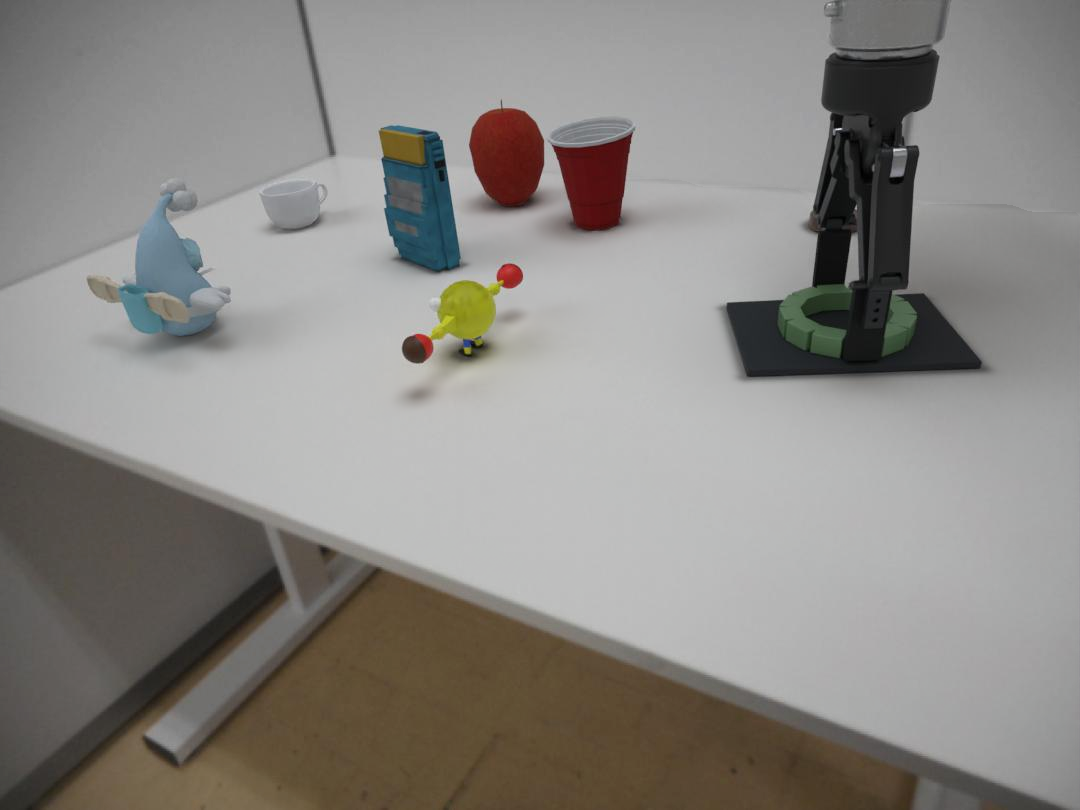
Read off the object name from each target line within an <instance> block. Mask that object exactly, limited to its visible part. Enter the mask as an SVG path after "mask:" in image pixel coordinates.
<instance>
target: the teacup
mask: <svg viewBox="0 0 1080 810" xmlns="http://www.w3.org/2000/svg"><path fill="white" fill-rule="evenodd" d="M319 187H321V188H322V190H323V195H322V197H321V198H320V195H319ZM258 193H259V197H260V199H261V203H262V205H263V208H264V210H265V213H266V215H267V217H268V218H269V220H270V221H271V222H272V223H273V224H274V225H275V226H277V227H279V228H281V229H283V230H299V229H303V228H306V227H309V226H311V225H312V224H314V223H315V221H316V220H317V219H318V217H319V215H320V211H321V205H322V204H323V202H324V201H325V200H326V198H327V197H328V188H327V187H326V185H325V183H323V182H322V183H321V182H317V181H316V180H315V179H313V178H292V179H286V180H280V181H277V182H274V183H271V184H268V185H265V186H264V187H262V188H260V189H259V192H258Z"/></svg>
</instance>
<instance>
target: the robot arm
mask: <svg viewBox="0 0 1080 810" xmlns="http://www.w3.org/2000/svg"><path fill="white" fill-rule="evenodd" d="M951 3H952V0H832V1H827V2H826V3H825V4H824V6H823V15H824V16H825V17H826V18H830V21H829V31H828V32H829V33H828V41H827V42H828V45H829V46H830V47H832V48H833V49H834V50H835V51H834V52H832V53H831V54H829V56H828V58H826V59H825V61H824V70H823V80H822V89H821V96H820V97H821V98H820V102H821V106H822V108H824V109H825V111H828V112H829V113H830V115H829V127H828V128H829V129H828V137H827V142H826V146H825V151H824V156H823V161H822V165H821V170H820V174H819V179H818V184H817V187H816V188H817V189H816V193H815V198H814V203H813V205H812V211H814V214H815V215H817V214H819V216H818V218H817V224H818V228H822V231H818V232H817V238H816V247H815V254H814V255H815V256H814V263H813V274H812V282H811V287H812V286H813V287H815V288H817V285H834V284H845V283H846V278H847V277H846V276H847V271H848V270H847V269H848V262H849V257H850V248H851V242H852V235H853V232H852V231H851V230H850V229H843V230H842V227H848V226H856V225H857V258H858V259H857V260H858V261H857V262H858V280H852V281H850V282H848V286H849V287H850V290H852V297H851V303H850V310H849V317H848V324H847V330H846V337H845V344H844V351H843V359H844V360H845V361H870V360H880V358H881V352H882V347H883V341H884V335H885V330H886V324H887V319H888V313H889V308H890V302H891V296H892V294H893V291H904V290H907V288H908V287H909V283H910V282H909V278H910V277H909V276H910V261H911V260H910V259H911V244H912V243H911V241H912V225H913V206H914V192H915V191H914V190H915V179H916V174H917V168H918V162H919V157H920V148H919V146H918V145H917V144H915V145H914V144H912V145H905V142H906V141H905V137H904V136H903V121H904V119H905V117H907V116H908V115H909V114H911V113H918V112H921V111H922V110H924V109H926V108H927V107H928V106H929V105H930V104H931V102H932V100H933V95H934V90H935V89H934V88H935V85H936V84H935V83H936V79H937V73H938V68H939V62H940V54H938V52H937V50H936V49H933V48H934V46H935V45H938V44H939V43H940V42H941V41H942V40H943V39H944V38H945V36H946V30H947V26H948V25H947V24H948V19H949V14H950V13H949V12H950V7H951ZM855 209H856V210H857V224H855V223H856V217H855V214H853V212H854V210H855ZM845 285H846V284H845Z"/></svg>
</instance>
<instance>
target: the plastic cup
mask: <svg viewBox="0 0 1080 810" xmlns="http://www.w3.org/2000/svg"><path fill="white" fill-rule="evenodd" d="M636 125H637V123H636V120H635V119H633V118H631V117H626V116H619V115H614V116H613V115H611V116H606V115H605V116H596V117H589V118H582V119H579V120H575V121H571V122H567V123H565V124H562V125H559V126H557V127H555V128H554V129H551V131H549V132H548V134H547V135H546V140H547V142H548V143H549V144H550V145H551V147H552V149H553V152H554V153H555V156H556V157H555V158H556V159H557V161H558V164H559V168H560V173H561V177H562V181H563V184H564V185H563V186H564V189H565V192H566V197H567V200H568V202H569V207H570V211H571V215H572V220H573V221H574V225H575V227H577V228H578V229H581V230H586V231H602V230H607V229H611V228H614V227H616V226H617V225H618V224H620V219H621V215H622V208H623V200H624V198H625V197H624V196H625V191H626V189H625V188H626V181H627V173H628V172H627V171H628V165H629V164H628V163H629V155H630V153H631V152H630V151H631V144H632V139H633V135H634V132H635V131H636Z"/></svg>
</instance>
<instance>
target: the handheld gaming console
mask: <svg viewBox="0 0 1080 810" xmlns="http://www.w3.org/2000/svg"><path fill="white" fill-rule="evenodd" d="M378 135H379V140H380V145H381V150H382V155H383V156H382V157H381V159H380V161H381V166H382V170H383V174H384V177H383V183H384V188H385V194H383V196H384V197H383V198H384V202H385V207H384V208H383V211H384V215H385V221H386V226H387V230H388V235H389V237H391V238H392V242H393V246H394V248H397V253H398V255H399V256H400V258H401V259H402V260H405V261H407V262H410V263H413V264H415V265H419V266H421V267H423V268H426V269H429V270H431V271H435V272H437V273H438V272H441V271H443V270H448V271H451V270H453V269H456V268H459V267H460V260H462V258H461V257H462V256H461V251H460V244H459V237H458V232H457V225H456V218H455V212H454V211H455V210H454V205H453V199H452V191H451V186H450V180H449V173H448V168H447V161H446V154H445V148H444V141H443V139H441V136H440V134H439V133H438V131H433V130H427V129H421V128H416V127H411V126H404V125H399V124H398V125H397V124H396V125H394V124H393V125H392V124H391V125H388V126H383V127H380V129H379V130H378Z"/></svg>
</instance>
